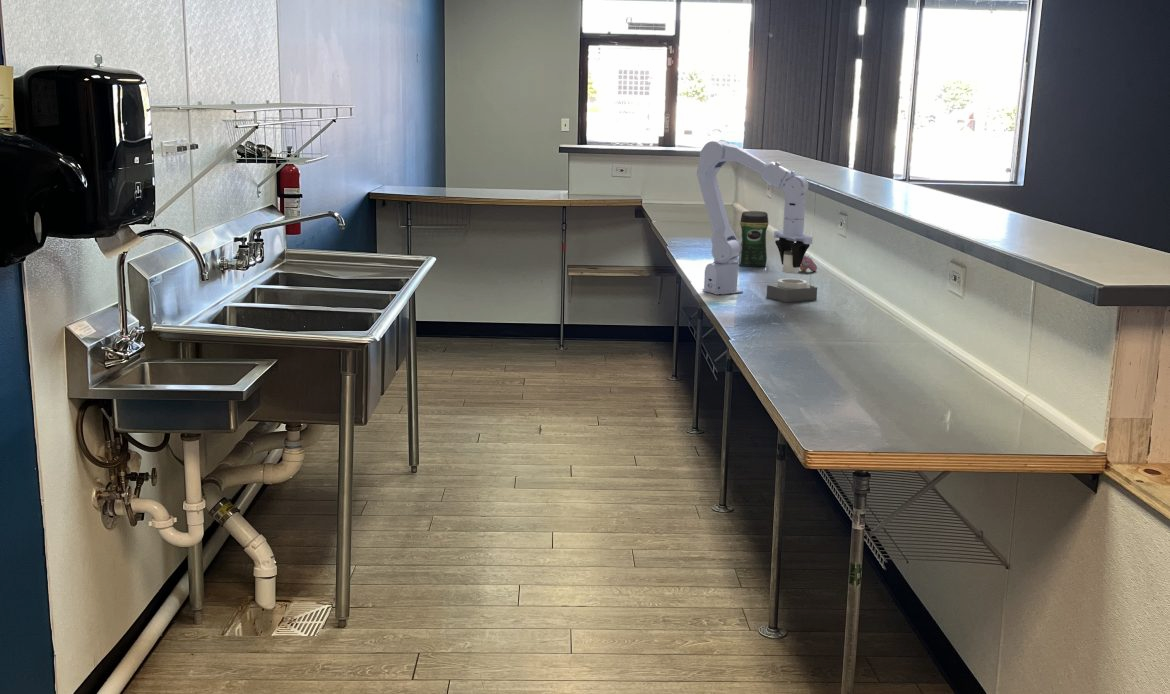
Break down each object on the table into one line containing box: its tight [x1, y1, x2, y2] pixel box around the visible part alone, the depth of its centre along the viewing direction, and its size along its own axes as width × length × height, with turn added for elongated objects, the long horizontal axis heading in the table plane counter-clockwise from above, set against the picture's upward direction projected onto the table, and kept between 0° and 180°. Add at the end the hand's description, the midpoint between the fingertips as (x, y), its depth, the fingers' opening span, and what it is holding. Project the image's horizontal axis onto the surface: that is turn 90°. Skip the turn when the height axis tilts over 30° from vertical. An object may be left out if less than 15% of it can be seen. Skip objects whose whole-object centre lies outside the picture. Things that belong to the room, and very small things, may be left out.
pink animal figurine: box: [799, 254, 818, 272], centre depth 345 cm, size 10×5×7 cm, turn 46°
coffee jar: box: [738, 210, 769, 268], centre depth 353 cm, size 10×8×19 cm
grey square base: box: [766, 278, 818, 303], centre depth 298 cm, size 11×9×5 cm
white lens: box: [782, 250, 800, 274], centre depth 295 cm, size 4×4×6 cm
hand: (790, 266), depth 296 cm, fingers closed on white lens, 4 cm apart
